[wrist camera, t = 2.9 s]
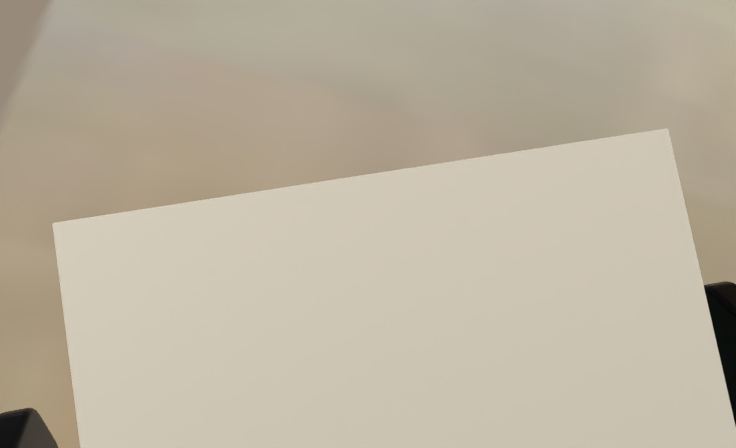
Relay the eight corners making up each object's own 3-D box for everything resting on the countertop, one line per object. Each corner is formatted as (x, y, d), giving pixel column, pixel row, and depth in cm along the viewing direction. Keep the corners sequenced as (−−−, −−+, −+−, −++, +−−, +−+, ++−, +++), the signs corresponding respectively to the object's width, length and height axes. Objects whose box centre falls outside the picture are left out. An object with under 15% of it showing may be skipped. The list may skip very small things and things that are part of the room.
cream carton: (504, 480, 16) (826, 758, 6) (246, 535, 15) (142, 947, 5) (457, 234, 17) (681, 126, 7) (207, 275, 16) (52, 222, 6)
